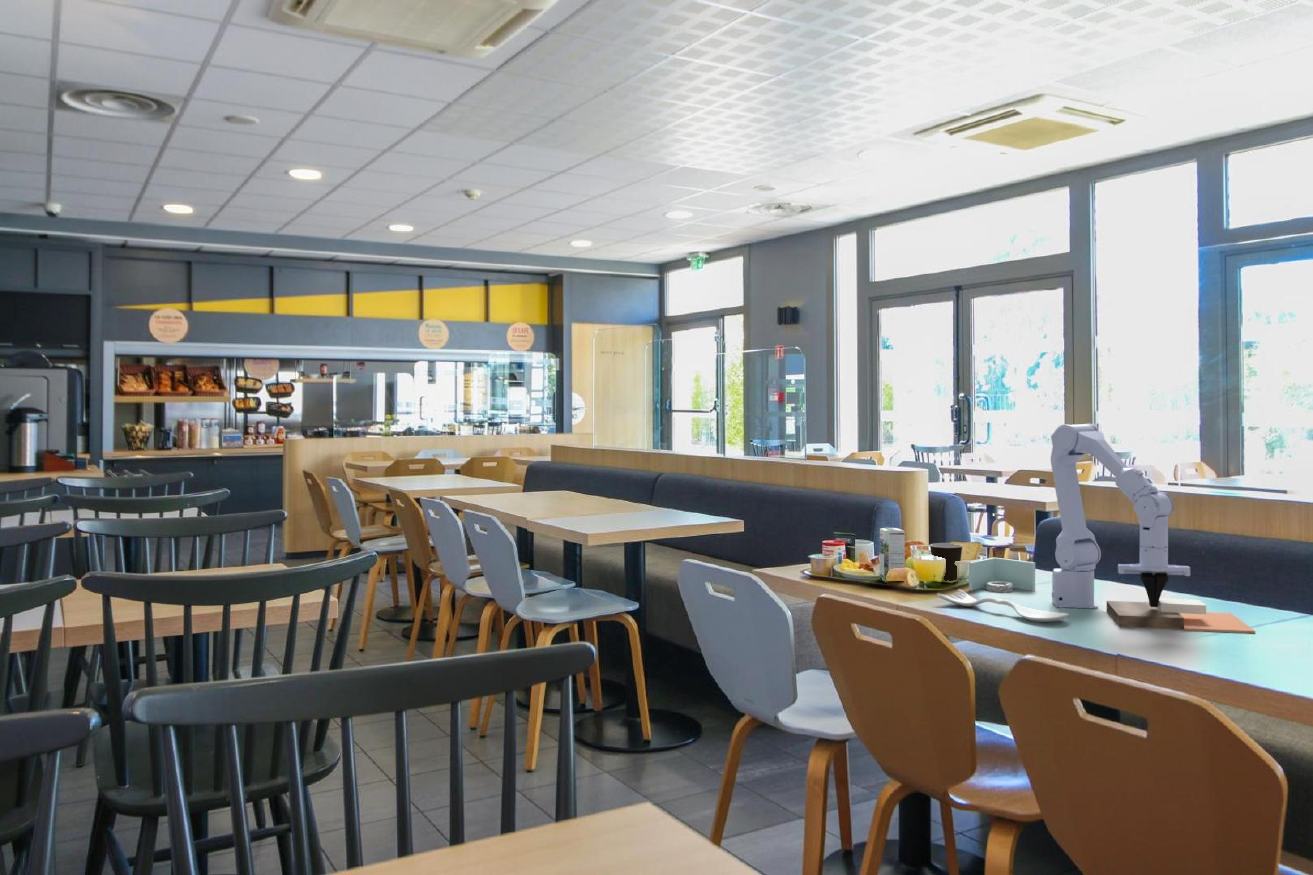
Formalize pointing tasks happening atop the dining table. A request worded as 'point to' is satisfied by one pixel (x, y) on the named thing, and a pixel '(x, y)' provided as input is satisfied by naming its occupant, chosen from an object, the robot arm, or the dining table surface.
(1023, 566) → the right angle wall
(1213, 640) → the dining table surface
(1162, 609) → the tile
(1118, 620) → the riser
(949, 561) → the coffee mug
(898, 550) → the syrup box
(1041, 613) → the fork
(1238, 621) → the mat
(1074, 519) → the robot arm
